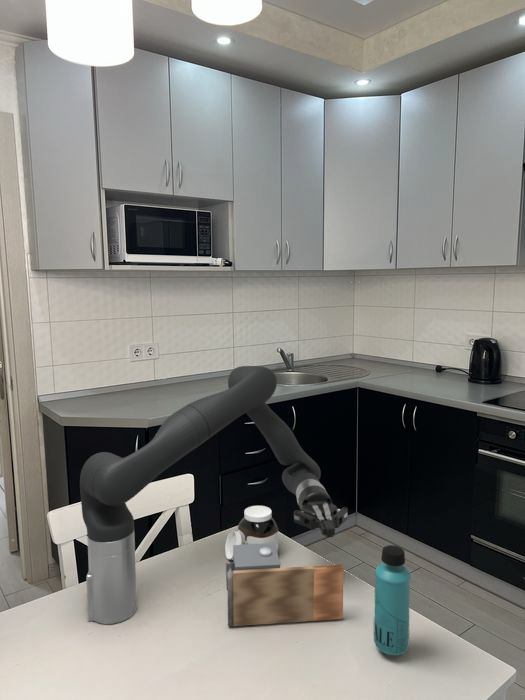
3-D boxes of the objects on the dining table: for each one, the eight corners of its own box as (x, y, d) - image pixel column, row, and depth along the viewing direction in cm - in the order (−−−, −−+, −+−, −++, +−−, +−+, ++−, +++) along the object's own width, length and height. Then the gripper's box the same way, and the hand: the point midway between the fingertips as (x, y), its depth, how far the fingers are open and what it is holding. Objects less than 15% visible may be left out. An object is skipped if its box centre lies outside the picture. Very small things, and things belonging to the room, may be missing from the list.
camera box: (227, 624, 104) (227, 563, 102) (226, 598, 112) (225, 541, 111) (280, 620, 105) (280, 560, 103) (274, 594, 113) (274, 539, 112)
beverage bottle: (410, 644, 98) (413, 543, 95) (407, 668, 91) (411, 560, 89) (374, 636, 100) (377, 537, 97) (370, 659, 94) (372, 554, 91)
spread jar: (283, 556, 130) (283, 512, 128) (251, 574, 122) (251, 527, 120) (249, 540, 138) (249, 498, 137) (217, 556, 130) (216, 512, 129)
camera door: (228, 626, 102) (227, 574, 101) (227, 622, 103) (227, 570, 102) (342, 618, 104) (343, 567, 103) (341, 615, 106) (342, 564, 104)
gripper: (286, 486, 125) (298, 518, 108) (339, 483, 127) (360, 514, 109) (286, 515, 126) (299, 552, 109) (339, 512, 128) (360, 547, 110)
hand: (329, 533), depth 109 cm, fingers closed
